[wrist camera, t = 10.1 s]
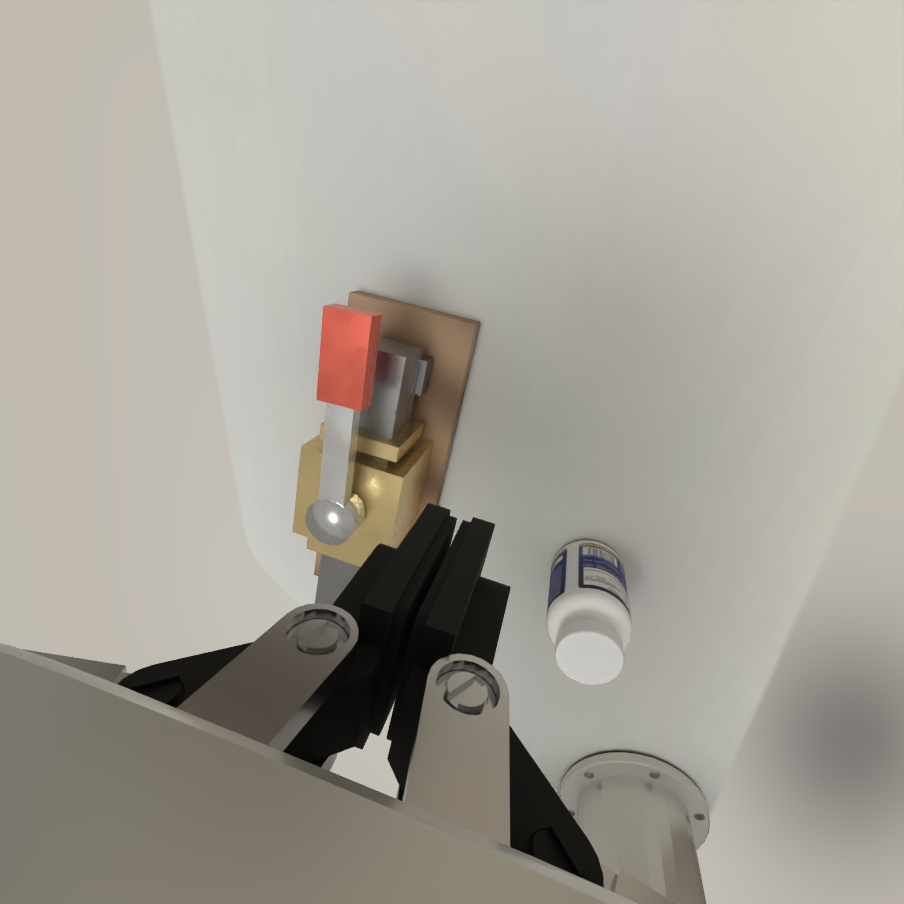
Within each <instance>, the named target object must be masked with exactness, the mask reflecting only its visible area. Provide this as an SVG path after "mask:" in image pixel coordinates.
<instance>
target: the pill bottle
mask: <svg viewBox="0 0 904 904" xmlns="http://www.w3.org/2000/svg"><path fill="white" fill-rule="evenodd" d="M547 630H548V634H549V636H550V638H551V640H552V642H553V643H554V645H555V646H556V648H555V657H556V661H557V664H558V666H559V668H560V669H561V670H562V672H563V673H564V674H565V675H567V676H568V677H569V678H571V679H573V680H575V681H577V682H580V683H583V684H588V685H598V684H604V683H607V682H609V681H611V680H613V679H614V678H615V677H617V676H618V675H619V673H620V672H621V670H622V668H623V664H624V654H623V651H624V650H625V649H626V647H627V646H628V644H629V642H630V639H631V635H632V624H631V616H630V609H629V602H628V595H627V588H626V580H625V573H624V568H623V564H622V562H621V560H620V558H619V557H618V555H617V554H616V553H615V552H614V551H613V550H612V549H611V548H609V547H608V546H606V545H604V544H602V543H599V542H596V541H590V540H582V541H576V542H573V543H570V544H568V545H566V546H565V547H563V548H562V549H561V550H560V551H559V552H558V553H557V555H556V556H555V558H554V560H553V563H552V568H551V577H550V587H549V598H548V608H547Z"/></svg>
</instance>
